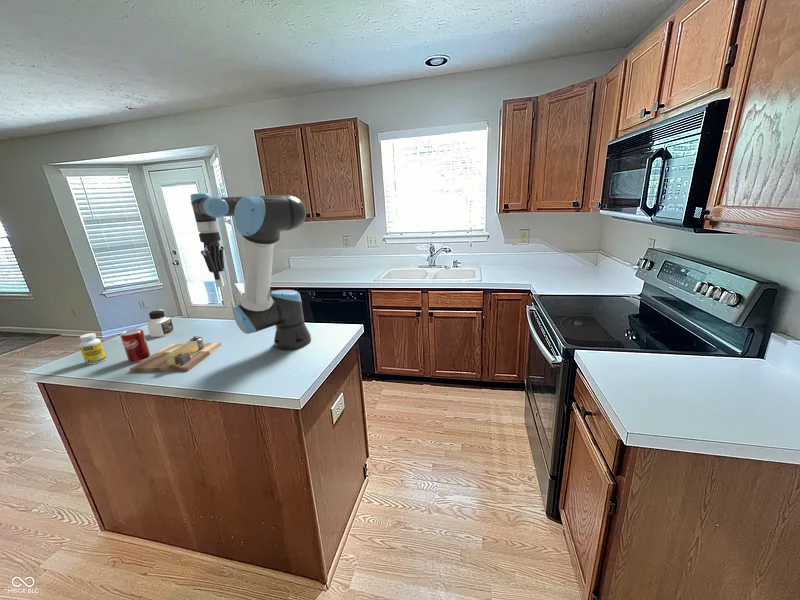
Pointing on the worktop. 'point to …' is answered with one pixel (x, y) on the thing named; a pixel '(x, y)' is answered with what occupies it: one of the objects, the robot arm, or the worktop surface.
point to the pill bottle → (92, 349)
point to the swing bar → (185, 350)
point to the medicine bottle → (159, 324)
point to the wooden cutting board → (185, 361)
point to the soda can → (135, 345)
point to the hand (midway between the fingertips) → (220, 286)
